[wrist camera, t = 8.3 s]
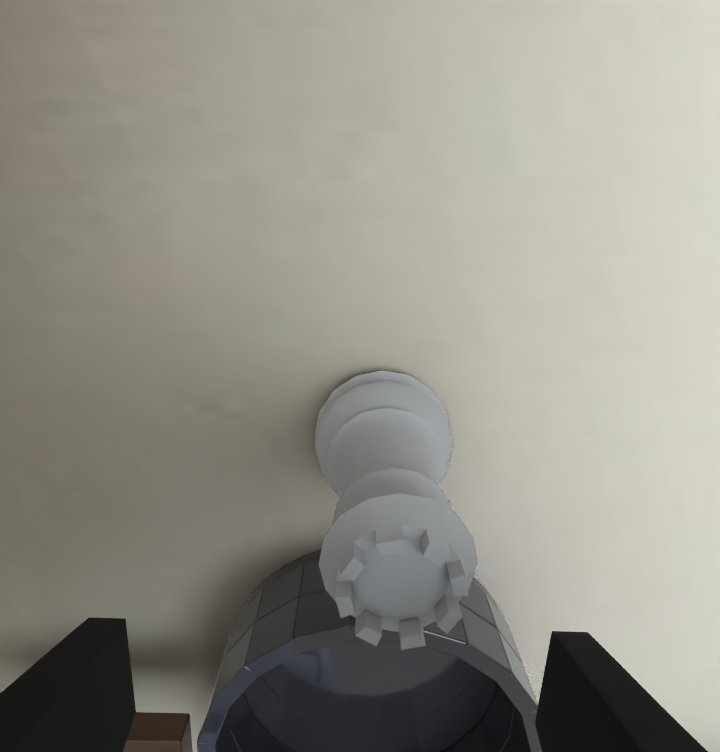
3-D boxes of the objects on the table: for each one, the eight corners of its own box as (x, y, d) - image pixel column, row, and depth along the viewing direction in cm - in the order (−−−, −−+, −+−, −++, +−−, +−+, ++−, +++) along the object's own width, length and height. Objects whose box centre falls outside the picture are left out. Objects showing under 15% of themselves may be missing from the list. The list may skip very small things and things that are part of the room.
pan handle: (193, 752, 18) (183, 783, 17) (-13, 747, 17) (-35, 778, 16) (190, 712, 17) (180, 742, 16) (-23, 707, 17) (-46, 736, 16)
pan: (494, 769, 22) (522, 886, 18) (232, 764, 22) (206, 879, 18) (529, 547, 19) (573, 631, 15) (222, 537, 19) (187, 620, 15)
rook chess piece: (450, 365, 17) (530, 490, 9) (445, 487, 18) (511, 687, 10) (313, 366, 17) (277, 492, 9) (318, 489, 18) (289, 689, 10)
